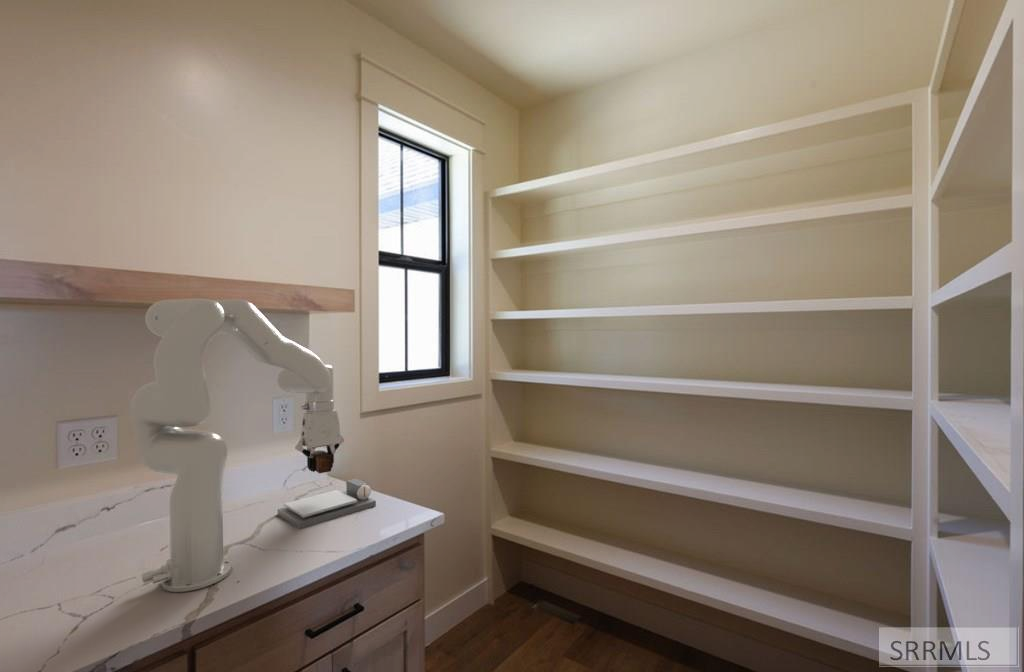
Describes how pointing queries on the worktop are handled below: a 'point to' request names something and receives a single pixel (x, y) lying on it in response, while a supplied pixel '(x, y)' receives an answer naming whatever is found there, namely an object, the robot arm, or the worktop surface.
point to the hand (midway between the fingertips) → (320, 468)
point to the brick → (323, 461)
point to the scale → (328, 505)
